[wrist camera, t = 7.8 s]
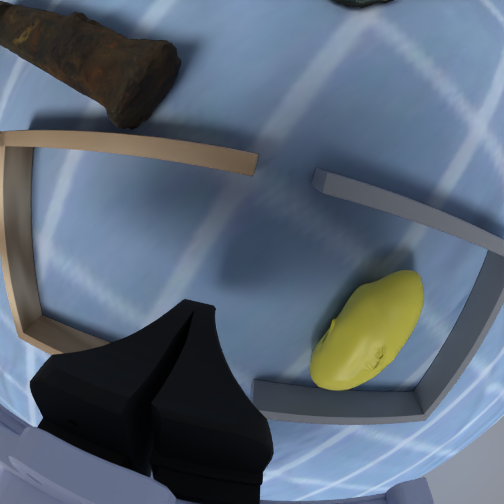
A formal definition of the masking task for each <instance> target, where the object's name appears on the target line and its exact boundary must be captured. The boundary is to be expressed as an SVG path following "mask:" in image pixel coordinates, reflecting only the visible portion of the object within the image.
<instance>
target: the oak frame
mask: <svg viewBox="0 0 504 504" xmlns="http://www.w3.org/2000/svg"><path fill="white" fill-rule="evenodd" d="M34 147H46V148H63V149H76V150H87V151H98V152H107V153H116V154H125V155H132V156H140V157H147V158H154V159H161V160H168V161H174V162H180V163H186V164H192V165H198V166H203V167H209V168H214V169H219V170H224V171H229V172H234V173H239V174H244V175H248V176H253V174H254V172H255V169H256V164H257V160H258V155H259V154H256V153H251V152H247V151H242V150H237V149H231V148H226V147H221V146H215V145H210V144H204V143H198V142H191V141H185V140H178V139H170V138H163V137H155V136H146V135H137V134H126V133H115V132H101V131H83V130H16V131H2V132H0V255H1V262H2V269H3V275H4V280H5V286H6V290H7V295H8V300H9V304H10V308H11V312H12V316H13V320H14V323H15V327H16V330H17V334H18V337H19V338H20V339H22V340H24V341H26V342H28V343H29V344H31V345H33V346H35V347H37V348H39V349H41V350H42V351H44V352H46V353H48V354H50V355H53V354H63V353H71V352H78V351H83V350H88V349H92V348H96V347H100V346H103V345H106V344H109V343H111V342H108V341H105V340H103V339H100V338H97V337H95V336H92V335H89V334H87V333H84V332H82V331H79V330H77V329H74V328H72V327H69V326H67V325H64V324H62V323H60V322H57V321H55V320H53V319H51V318H48V317H46V316H44V315H42V312H41V307H40V301H39V295H38V289H37V283H36V276H35V268H34V259H33V248H32V233H31V173H32V159H33V148H34Z"/></svg>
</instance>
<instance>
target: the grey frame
mask: <svg viewBox="0 0 504 504" xmlns="http://www.w3.org/2000/svg"><path fill="white" fill-rule="evenodd" d="M312 186H313V187H315V188H316V189H317V190H319V191H320V192H321V193H323V194H327V195H330V196H334V197H338V198H341V199H345V200H348V201H352V202H355V203H358V204H362V205H365V206H368V207H372V208H375V209H378V210H381V211H384V212H388V213H391V214H394V215H397V216H400V217H403V218H406V219H409V220H412V221H415V222H417V223H420V224H423V225H426V226H429V227H432V228H434V229H437V230H440V231H442V232H445V233H448V234H450V235H453V236H456V237H458V238H461V239H463V240H466V241H468V242H471V243H473V244H476V245H478V246H481V247H483V248H485V249H488V253H487V256H486V259H485V261H484V264H483V266H482V269H481V271H480V274H479V276H478V278H477V281H476V283H475V285H474V288H473V290H472V292H471V294H470V296H469V298H468V301H467V303H466V305H465V307H464V309H463V311H462V313H461V315H460V317H459V318H458V320H457V322H456V324H455V326H454V328H453V330H452V331H451V333H450V335H449V337H448V338H447V340H446V342H445V344H444V345H443V347H442V349H441V350H440V352H439V354H438V355H437V357H436V358H435V360H434V361H433V363H432V365H431V366H430V368H429V369H428V371H427V372H426V374H425V375H424V377H423V378H422V379H421V381H420V382H419V384H418V385H417V386H416V388H415V389H414V391H413V392H379V391H353V390H339V391H337V390H328V389H324V388H315V387H305V386H297V385H289V384H281V383H274V382H268V381H261V380H255V379H254V380H253V383H252V386H251V398H250V401H251V402H252V404H253V405H254V406H255V407H256V408H257V409H258V410H259V411H260V412H261V413H262V414H263V415H264V416H265V417H266V419H270V420H279V421H288V422H299V423H314V424H338V425H369V424H392V423H406V422H416V421H425V420H426V419H427V418H428V417H429V416H430V415H431V413H432V412H433V411H434V410H435V409H436V407H437V406H438V405H439V404H440V403H441V401H442V400H443V399H444V398H445V396H446V395H447V394H448V392H449V391H450V390H451V388H452V387H453V386H454V384H455V383H456V382H457V380H458V379H459V377H460V376H461V375H462V373H463V372H464V370H465V369H466V367H467V366H468V364H469V363H470V361H471V360H472V358H473V357H474V355H475V354H476V352H477V350H478V349H479V347H480V345H481V344H482V342H483V340H484V339H485V337H486V335H487V333H488V332H489V330H490V328H491V326H492V324H493V323H494V321H495V319H496V317H497V315H498V313H499V311H500V309H501V307H502V305H503V303H504V239H502V238H500V237H498V236H496V235H494V234H492V233H490V232H488V231H486V230H484V229H482V228H480V227H477V226H475V225H473V224H471V223H469V222H467V221H464V220H462V219H460V218H458V217H455V216H453V215H451V214H448V213H446V212H443V211H441V210H439V209H436V208H434V207H431V206H429V205H426V204H424V203H421V202H418V201H416V200H413V199H411V198H408V197H405V196H402V195H400V194H397V193H394V192H391V191H388V190H385V189H383V188H380V187H377V186H374V185H371V184H368V183H364V182H361V181H358V180H355V179H352V178H349V177H345V176H342V175H339V174H335V173H332V172H328V171H325V170H321V169H317V168H316V169H315V173H314V177H313V181H312Z"/></svg>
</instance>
